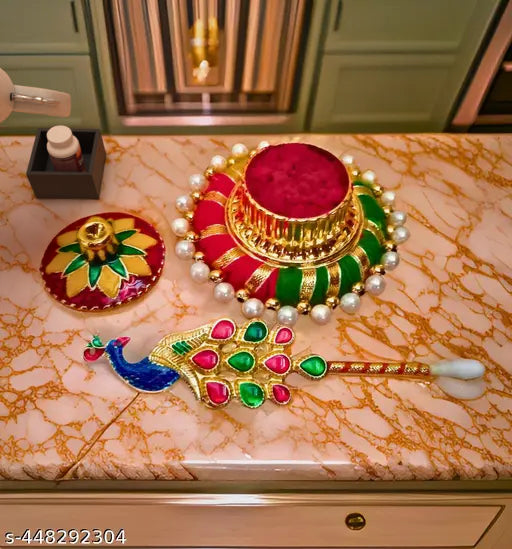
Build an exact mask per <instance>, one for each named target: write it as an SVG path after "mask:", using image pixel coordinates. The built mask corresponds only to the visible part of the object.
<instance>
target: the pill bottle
mask: <svg viewBox="0 0 512 549" xmlns="http://www.w3.org/2000/svg"><path fill="white" fill-rule="evenodd" d="M50 128H51V129H50V130H49V131H48V132H47V139H48V143H47V150H48V153H49V155H50V158H51V161H52V164H53V167H54V169H55V172H87V169H86V165H85V162H84V159H83V155H82V152H81V148H80V145H79V142H78V140H77V138H76V137H75V136H73V134H72V132H71V130H70V129H71V128H70V127H68V126H66V125H55V126H53V127H50Z"/></svg>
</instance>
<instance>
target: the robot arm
mask: <svg viewBox="0 0 512 549" xmlns="http://www.w3.org/2000/svg"><path fill="white" fill-rule="evenodd" d="M71 109H72V97H71V94H70V93H67V92H63V91H59V90H53V89H49V88H43V87H42V88H41V87H36V86H28V85H27V86H26V85H18V84H13V81H12V79H11V77H10V76H9V75H8V73H7V72H6V71H5V70H4V69H3V68H1V67H0V123H2V122H3V121H5V120H7V118H8V117H9V116H10V114H12V112H17V113H18V112H19V113H26V114H27V113H28V114H34V115H42V116H51V117H60V118H68V117H70V115H71Z"/></svg>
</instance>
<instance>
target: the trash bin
mask: <svg viewBox="0 0 512 549" xmlns="http://www.w3.org/2000/svg"><path fill="white" fill-rule="evenodd" d="M51 128H52V127H38V128H37V130H36V133H35V138H34V141H33V145H32V150H31V154H30V156H29V160H28V164H27V169H26V172H25V176H26V178H27V181H28V182H29V185H30V187H31V190H32V192H33V194H34V197H35V198H36V199H38V200H39V199H40V200H41V199H42V200H100V195H101V189H102V184H103V178H104V177H103V176H104V172H105V171H104V170H105V164H106V159H107V152H106V148H105V147H106V146H105V143H104V140H103V135H102V132H101V129H100V128H69V129H70V130H71V132H72V134H73V136H75V137H76V138H77V140H78V142H79V145H80V148H81V152H82V155H83V159H84V162H85V165H86V169H87V172H55V169H54V167H53V164H52V161H51V158H50V155H49V153H48V150H47V143H48V139H47V132H48V131H49V130H50V129H51Z"/></svg>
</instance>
